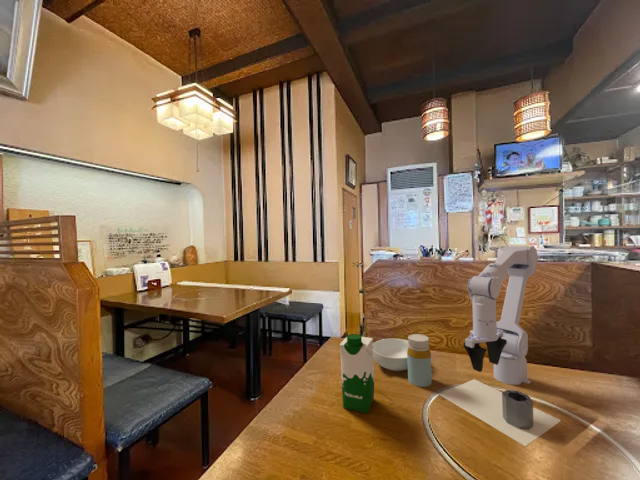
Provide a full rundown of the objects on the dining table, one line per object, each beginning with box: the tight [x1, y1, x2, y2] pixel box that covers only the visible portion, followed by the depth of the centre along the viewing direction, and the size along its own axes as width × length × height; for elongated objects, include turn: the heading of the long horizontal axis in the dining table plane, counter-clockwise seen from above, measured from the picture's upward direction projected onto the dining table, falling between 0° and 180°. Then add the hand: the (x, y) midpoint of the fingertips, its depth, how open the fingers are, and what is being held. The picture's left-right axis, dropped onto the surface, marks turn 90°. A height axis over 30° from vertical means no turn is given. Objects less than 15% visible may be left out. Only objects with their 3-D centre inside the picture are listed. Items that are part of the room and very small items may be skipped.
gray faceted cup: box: [502, 389, 534, 430], centre depth 66 cm, size 6×6×6 cm
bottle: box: [407, 333, 433, 388], centre depth 85 cm, size 7×7×15 cm
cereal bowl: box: [373, 337, 409, 372], centre depth 98 cm, size 17×17×7 cm
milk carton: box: [339, 333, 375, 414], centre depth 77 cm, size 9×9×20 cm
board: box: [438, 378, 562, 447], centre depth 72 cm, size 16×22×1 cm
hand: (485, 366), depth 76 cm, fingers open, 7 cm apart
